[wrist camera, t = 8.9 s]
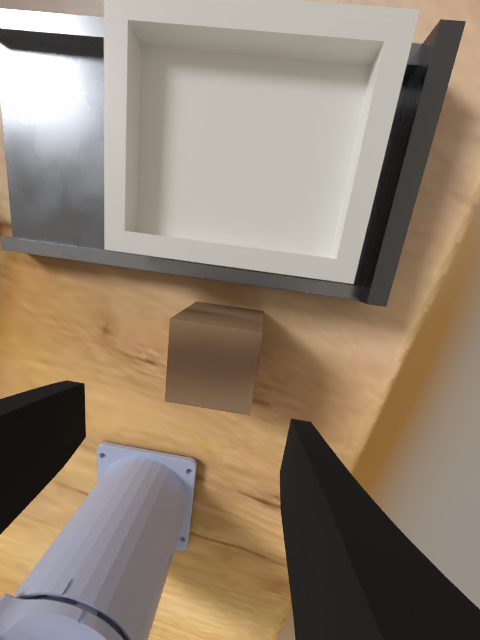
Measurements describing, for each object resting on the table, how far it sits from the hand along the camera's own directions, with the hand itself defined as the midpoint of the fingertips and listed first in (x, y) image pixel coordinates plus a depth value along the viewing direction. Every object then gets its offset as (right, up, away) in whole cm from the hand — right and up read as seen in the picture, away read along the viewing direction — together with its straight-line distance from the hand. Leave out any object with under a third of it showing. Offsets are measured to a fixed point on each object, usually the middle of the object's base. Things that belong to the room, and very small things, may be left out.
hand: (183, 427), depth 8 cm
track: (-1, +12, +7) cm, 14 cm away
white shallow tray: (+2, +12, +7) cm, 14 cm away
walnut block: (+1, +2, +9) cm, 10 cm away
